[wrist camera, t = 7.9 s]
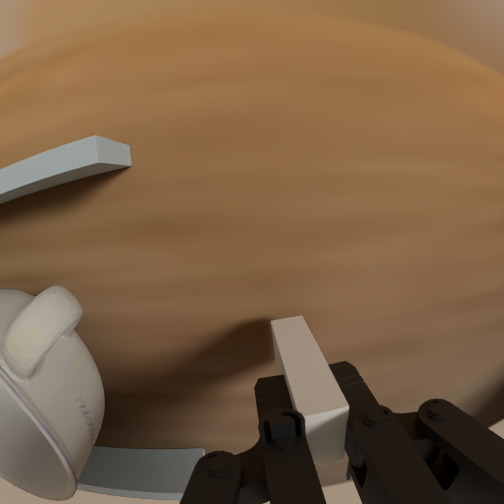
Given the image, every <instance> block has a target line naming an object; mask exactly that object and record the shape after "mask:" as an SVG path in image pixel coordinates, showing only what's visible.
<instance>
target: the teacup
mask: <svg viewBox="0 0 504 504" xmlns="http://www.w3.org/2000/svg"><path fill="white" fill-rule="evenodd" d="M82 313H83V310H82V307H81V305H80V303H79V302H78V301H77V299H76V298H75V297H74V296H73V295H72V294H71V293H70V292H69V291H68V290H67V289H66V288H64V287H62V286H58V285H56V286H52V287H50V288H48V289H46V290H44V291H42V292H41V293H40V294H38V295H37V296H36V297H35V296H32V295H30V294H28V293H26V292H23V291H20V290H16V289H7V288H3V289H0V476H1V477H2V478H4V479H5V480H7V481H8V482H10V483H12V484H13V485H15V486H17V487H18V488H20V489H22V490H24V491H26V492H29V493H31V494H33V495H35V496H38V497H41V498H45V499H49V500H56V501H60V500H67V499H70V498H71V497H72V496H73V495H74V493H75V492H76V489H77V485H78V482H77V480H78V478H79V476H80V474H81V472H82V470H83V468H84V466H85V464H86V462H87V459H88V457H89V455H90V453H91V451H92V448H93V446H94V444H95V441H96V439H97V436H98V434H99V431H100V428H101V425H102V421H103V417H104V410H105V398H104V389H103V385H102V381H101V377H100V374H99V372H98V369H97V366H96V364H95V362H94V360H93V358H92V356H91V354H90V352H89V351H88V349H87V347H86V346H85V344H84V343H83V341H82V340H81V339H80V337H79V336H78V334H77V333H76V332H75V331H74V328H75V326H76V325H77V323H78V322H79V320H80V319H81V317H82Z"/></svg>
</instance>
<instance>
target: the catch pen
mask: <svg viewBox="0 0 504 504" xmlns="http://www.w3.org/2000/svg"><path fill="white" fill-rule="evenodd" d="M130 166H132V163H131V155H130V146H129V145H126V144H123V143H119V142H116V141H113V140H110V139H107V138H104V137H100V136H97V135H95V136H91V137H88V138H85V139H81V140H78V141H75V142H72V143H69V144H66V145H63V146H60V147H57V148H54V149H51V150H48V151H45V152H43V153H40V154H37V155H35V156H32V157H29V158H27V159H24V160H22V161H19V162H17V163H15V164H12V165H10V166H7V167H5V168H3V169H1V170H0V204H2V203H4V202H7V201H10V200H13V199H16V198H19V197H22V196H25V195H28V194H31V193H34V192H37V191H40V190H43V189H46V188H50V187H53V186H56V185H60V184H63V183H67V182H70V181H74V180H77V179H81V178H85V177H89V176H92V175H96V174H100V173H104V172H109V171H113V170H117V169H121V168H126V167H130ZM204 455H205V451H204V449H203V448H193V449H128V448H112V447H100V446H93V448H92V451H91V453H90V455H89V457H88V459H87V462H86V464H85V466H84V468H83V470H82V472H81V474H80V476H79V478H78V480H77V482H78V485H77V489H79V490H83V491H89V492H95V493H101V494H107V495H114V496H122V497H131V498H143V499H158V500H181V499H182V496H183V494H184V492H185V489H186V487H187V484H188V482H189V479H190V477H191V474H192V472H193V470H194V467H195V465H196V463H197V462H198V460H199V459H200V458H201V457H202V456H204Z"/></svg>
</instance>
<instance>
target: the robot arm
mask: <svg viewBox="0 0 504 504" xmlns="http://www.w3.org/2000/svg"><path fill="white" fill-rule="evenodd" d="M271 328H272V336H273V344H274V353H275V361H276V368H277V372H278V375H277V376H271V377H265V378H259V379H258V381H257V383H256V385H255V387H254V389H255V396H256V404H257V411H258V418H259V425H258V429H259V434H260V438H259V440H258V442H257V443H256V444H255V445H254V446H253V447H252V448H251V449H249V450H247V451H245V452H242V453H240V454H237V455H233V454H232V453H230V452H225V451H214V452H211V453H208V454H205V455H204V456H202V457H201V458H200V459H199V460H198V462H197V463H196V465H195V467H194V470H193V472H192V474H191V477H190V479H189V482H188V484H187V487H186V489H185V492H184V494H183V496H182V499H181V501H180V504H263V503H266V502H268V501H270V504H326V501H325V497H324V494H323V491H322V488H321V484H320V481H319V478H318V475H317V471H316V468H315V465H317V464H321V463H326V462H330V461H334V460H338V459H341V458H344V455H345V450H346V453H347V455H348V457H349V462H348V469H347V480H349V479H350V477H351V476H352V479H353V481H354V483H355V486H356V489H357V491H358V494H359V496H360V499H361V501H362V504H504V439H503V438H501V437H500V436H498V435H497V434H495V433H494V432H492V431H491V430H489V429H488V428H487V427H485V426H484V425H482V424H481V423H479V422H478V421H476V420H475V419H473V418H472V417H471V416H469V415H468V414H466V413H465V412H463V411H462V410H460V409H459V408H458V407H456V406H455V405H453V404H452V403H450V402H448V401H446V400H444V399H430V400H428V401H426V402H424V403H423V404H422V405H421V406H420V407H419V410H418V412H411V413H393V412H392V411H391V410H390V409H389V408H387V407H385V406H382V405H379V404H378V402H377V401H376V399H375V397H374V396H373V394H372V393H371V391H370V390H369V388H368V386H367V385H366V383H365V382H364V380H363V379H362V377H361V376H360V374H359V372H358V371H357V369H356V368H355V366H353V365H351V364H350V363H348V362H347V361H343V362H338V363H334V364H330V365H328V364H327V362H326V360H325V358H324V356H323V355H322V353H321V351H320V349H319V347H318V345H317V343H316V341H315V339H314V337H313V336H312V334H311V332H310V330H309V328H308V326H307V324H306V322H305V320H304V318H303V317H302V316H297V317H291V318H285V319H279V320H273V321H271Z"/></svg>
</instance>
